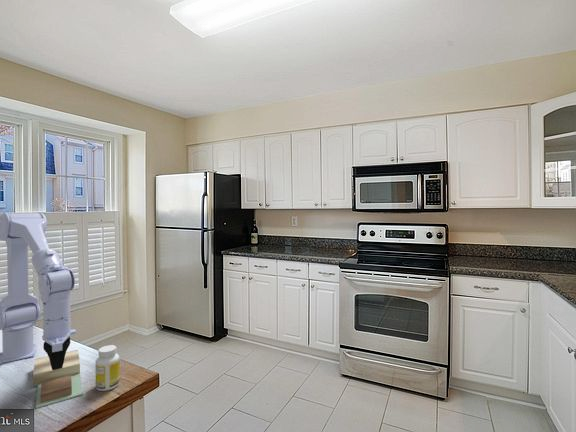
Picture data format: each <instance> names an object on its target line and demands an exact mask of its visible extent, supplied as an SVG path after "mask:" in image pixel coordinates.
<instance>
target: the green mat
mask: <svg viewBox="0 0 576 432" xmlns="http://www.w3.org/2000/svg"><path fill="white" fill-rule="evenodd" d="M81 379H82V377H81V373H80V374H76V375H72V376H71V383H72V394H71V395H68V396H64V397H61V398H57V399H53V400H50V401H46V402H43V403H41V400H40V394H41V384H42V383H40V384H38V385H37V393H36V401H35V402H36V403H35V409H39V408H43V407H47V406H49V405H53V404H56V403H61V402H63V401H68V400H70V399H74V398H77V397H81V396H83V395H84V392H83V391H84V390H83V385H82V380H81Z"/></svg>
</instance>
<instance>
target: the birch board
mask: <svg viewBox="0 0 576 432" xmlns="http://www.w3.org/2000/svg"><path fill="white" fill-rule="evenodd" d="M79 355H80V354H79V350H78V349H76V350H70V351H66V354H65V358H64V363H63V367H62V368H60V369H56V370H52V368H51V364H50V360H49V357H48V355H47V356H43V357H38V358H35V359H34V366H33V371H32V372H33V374H32V387H36V386H37V387H38V384H40V383H42V382H46V381H50V380H54V379H58V378H62V377H66V376H70V375H71V376H72V375H76V374H80V375H81V362H80V361H81V360H80V356H79Z"/></svg>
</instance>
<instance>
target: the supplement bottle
mask: <svg viewBox="0 0 576 432" xmlns="http://www.w3.org/2000/svg"><path fill="white" fill-rule="evenodd" d="M117 352H118V351H117V346H116V345H114V344H109V345H105V346H102V347H100V348H99V349H98V357H97V358H96V359H95V389H96V390H97V391H98V392H99V391H100V392H105V391H111V390H112V389H115V388H116V387H117V386H119V384H120V380H121V378H120V375H121V374H120V373H121V372H120V355H119V354H118V353H117Z"/></svg>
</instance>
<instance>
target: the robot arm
mask: <svg viewBox="0 0 576 432" xmlns="http://www.w3.org/2000/svg"><path fill="white" fill-rule="evenodd" d="M47 227H48V220H47V217H46V215H45V214H44V213H42V212H27V213H25V212H23V213H22V212H21V213H16V212H15V213H11V212H10V213H8V212H4V213H2V214H1V215H0V241H1V242H2V241H3V242H5V243H6V253H7V254H6V258H7V259H6V260H7V295H6V296H5V297H3V298H1V300H0V331H1V336H2V337H1V339H2V346H1V347H2V351H1V352H2V353H1V356H0V364H4V363H5V364H6V363H9V362H14V361H19V360H24V359H27V358H34V357H35V355H36V349H37V344H36V343H34V326H35V325H36V322H37V321H39V319H40V318H41V314H42V334H43V335H42V336H41V339H42V341H43V346H42V347H43V350H44V352H45V353H46V354H47V356H48V357H49V360H50V364H51V368H52V370H56V369H60V368H62V367H63V363H64V358H65V354H66V352H68V348H69V347H70V345H71V336H72V335H76V333H77V332H76V329H75V328H72V329H71V291H73V289H74V288H75V284H76V279H75V275H74V272H73V270H72V269H70V268H68V266H64V264H63V262H62V260H61V258H60V257H59V254H58V253H57V251H56V250H54V249H51V248H50V246H49V244H48V240H47V238H46V235H45V233H46V230H47ZM29 249H30V251H31V253H33V255H32V256H31V263H32V265H33V267H34V271H35V272H36V274H37V276H38V281H37V284H38V285H37V286H38V290H39V293H40V295H39V296H40V301H41V302H42V313H41V307H40V301H39V298H38V296H36V295H34V294H31V293H29V286H30V285H29Z"/></svg>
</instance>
